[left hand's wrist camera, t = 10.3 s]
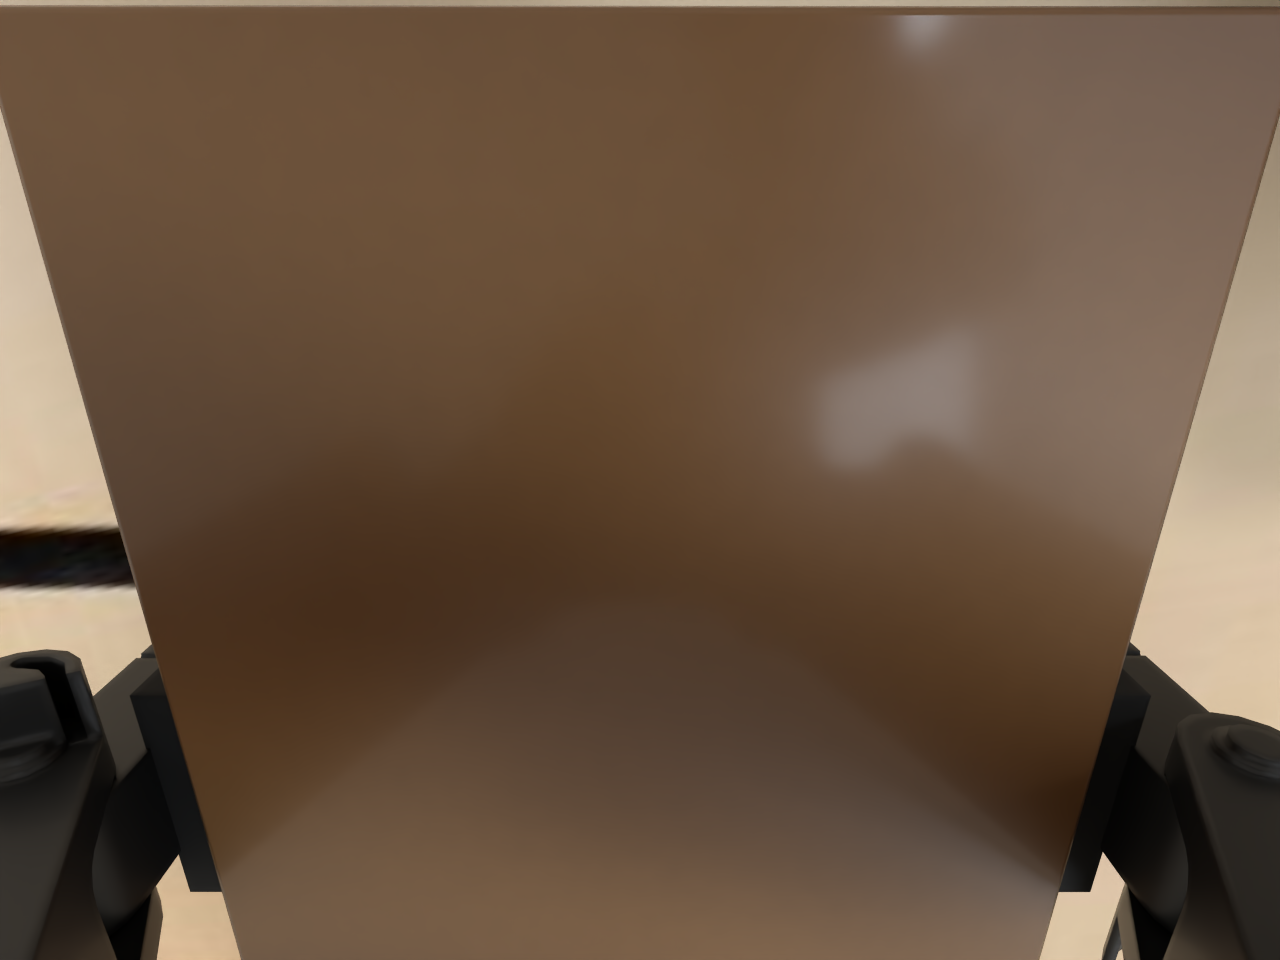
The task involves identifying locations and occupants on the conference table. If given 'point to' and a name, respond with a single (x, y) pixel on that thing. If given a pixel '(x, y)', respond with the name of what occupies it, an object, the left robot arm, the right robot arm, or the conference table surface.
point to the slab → (640, 443)
